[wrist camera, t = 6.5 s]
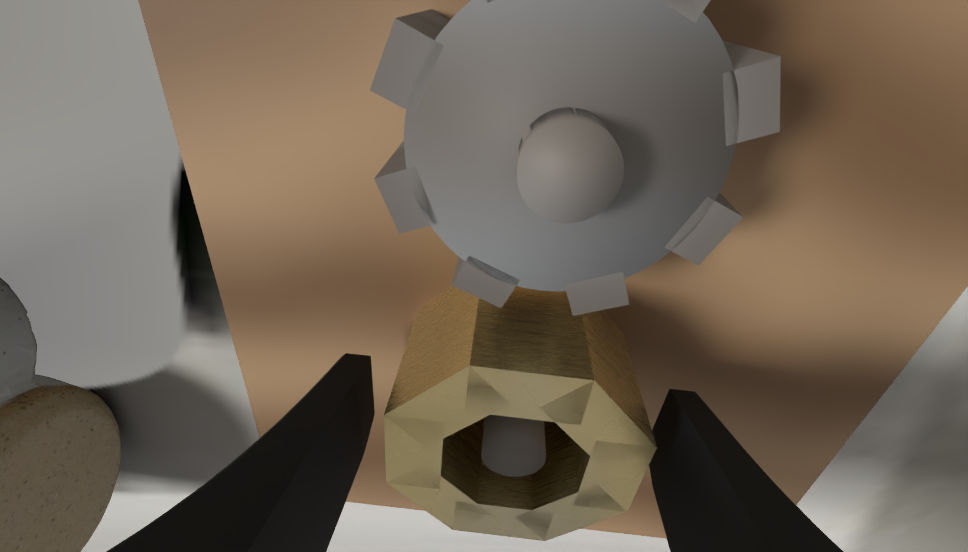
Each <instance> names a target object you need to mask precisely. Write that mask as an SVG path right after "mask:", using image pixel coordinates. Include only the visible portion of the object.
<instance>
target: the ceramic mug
mask: <svg viewBox="0 0 968 552" xmlns="http://www.w3.org/2000/svg"><path fill="white" fill-rule="evenodd" d="M36 351H37V344H36V339H35V337H34V334H33V332H32V329H31V324H30V321H29V318H28V317H27V310H26V309H25V307H24V305H23V304H22V302H21V301H20V300H19V298H18V297H17V295H16V294H15V293H14V292H13V290H12V289H11V288H10V286H9V285H8V284H7V283H6V282H5V281H4V280H2V279H1V278H0V552H81V550H82V549H83V547H84V546H85V545H86V543H87V542H88V541H89V539H90V537H91V536H92V534H93V532H94V531H95V529H96V528H97V526H98V524H99V523H100V521H101V519H102V517H103V515H104V513H105V510H106V508H107V506H108V504H109V501H110V499H111V496H112V493H113V490H114V487H115V483H116V480H117V477H118V473H119V467H120V461H121V442H120V434H119V427H118V425H117V422H116V420H115V417H114V415H113V413H112V411H111V410H110V408H109V407H108V406H107V405H106V403H105V402H104V401H103V400H102V399H101V398H100V397H99V396H98V395H96V394H94V393H92V392H90V391H88V390H86V389H83V388H80V387H77V386H74V385H71V384H68V383H65V382H62V381H59V380H56V379H53V378H50V377H45V376H41V375H35V364H36Z"/></svg>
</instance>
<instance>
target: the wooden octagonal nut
mask: <svg viewBox="0 0 968 552" xmlns="http://www.w3.org/2000/svg"><path fill="white" fill-rule="evenodd" d="M489 415H499V416H507V417H516V418H524V419H532V420H541V421H544V428H545V448H546V461H545V464H544V465H543V467H542V468H541V469H540V470H538V471H537V472H535V473H533V474H530V475H527V476H521V477H510V476H504V475H500V474H498V473H495V472H493V471H492V470H490V469H489V468H488V467H487V466H486V465H485V464H484V463H483V461H482V458H481V450H482V439H483V427H484V418H485V417H487V416H489ZM384 435H385V461H386V483H387V484H389V485H390V486H391V487H393V488H394V489H396V490H397V491H399V492H400V493H401V494H403V495H404V496H406V497H407V498H408V499H410V500H411V501H413V502H414V503H416V504H417V505H418V506H420V507H421V508H423V509H424V510H425V511H427V512H428V513H430V514H431V515H433V516H434V517H435V518H437V519H438V520H440V521H441V522H442V523H444V524H445V525H447V526H448V527H450V528H451V529H452V530H459V531H467V532H476V533H484V534H492V535H500V536H509V537H517V538H525V539H533V540H542V541H546V540H549V539H552V538H554V537H557V536H560V535H563V534H566V533H569V532H572V531H574V530H577V529H580V528H583V527H586V526H589V525H591V524H594V523H597V522H600V521H603V520H606V519H608V518H611V517H614V516H617V515H620V514H623V513H625V512H627V511H628V509H629V507H630V505H631V503H632V501H633V498H634V496H635V494H636V492H637V490H638V488H639V485H640V483H641V481H642V479H643V477H644V475H645V472H646V470H647V468H648V466H649V464H650V462H651V459H652V457H653V455H654V453H655V451H656V449H657V446H656V443H655V439H654V436H653V432H652V429H651V426H650V422H649V419H648V415H647V412H646V409H645V405H644V402H643V398H642V395H641V391H640V388H639V385H638V381H637V378H636V374H635V371H634V368H633V364H632V361H631V357H630V354H629V351H628V347H627V344H626V340H625V337H624V334H623V332H622V331H621V330H620V329H619V328H618V326H617V325H616V324H615V323H614V322H613V320H612V319H611V318H610V317H609V316H608V314H607V313H606V312H605V311H604V310H600V311H595V312H590V313H585V314H580V315H576V316H573V315H572V311H571V307H570V303H569V300H568V296H567V292H566V291H560V292H558V291H540V290H534V289H528V288H522V287H519V286H516V287H515V289H514V290H513V292H512V293H511V295H510V296H509V298H508V299H507V300H506V302H505V303H504V305H503V306H502V308H499V307H497V306H495V305H493V304H491V303H489V302H486V301H484V300H482V299H480V298H478V297H476V296H473V295H471V294H469V293H467V292H465V291H463V290H460V289H458V288H456V287H454V286H452V287H450V288H449V289H447V290H446V291H444V292H443V293H442V294H440V295H439V296H437V297H436V298H434V299H433V300H431V301H430V302H428V303H427V304H425V305H424V306H422V307H421V308H419V309H418V310H417V314H416V317H415V320H414V323H413V326H412V329H411V332H410V335H409V338H408V341H407V345H406V348H405V351H404V354H403V357H402V360H401V363H400V366H399V369H398V372H397V376H396V379H395V382H394V385H393V388H392V391H391V394H390V397H389V400H388V403H387V407H386V410H385V413H384Z"/></svg>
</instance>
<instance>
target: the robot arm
mask: <svg viewBox="0 0 968 552" xmlns="http://www.w3.org/2000/svg"><path fill="white" fill-rule="evenodd" d="M374 415H375V409H374V395H373V380H372V365H371V356H368V355H359V354H349V353H346V354H344V355H343V356H341V358H340V359H339V360H338V361H337V362H336V363H335V364H334V365H333V366H332V367H331V368H330V370H329V371H328V372H327V373H326V374H325V375H324V376H323V377H322V378H321V379H320V380H319V381H318V382H317V383H316V384H315V385H314V386H313V387H312V389H311V390H310V391H309V392H308V393H307V394H306V395H305V396H304V397H303V398H302V399H301V400H300V401H299V402H298V403H297V404H296V405H295V406H294V407H293V408H292V409H291V410H289V411H288V412H287V413H286V414H285V415H284V416H283V417H282V418H281V419H280V420H279V421H278V422H277V423H276V424H275V425H274V426H273V427H272V428H271V429H269V430H268V431H267V432H266V433H265V434H264V435H263V436H262V437H260V438H259V439H258V440H257V441H256V442H255V443H254V444H253V445H252V446H250V447H249V448H248V449H247V450H246V451H245V452H244V453H242V454H241V455H240V456H239V457H238V458H236V459H235V460H234V461H233V462H232V463H230V464H229V465H228V466H227V467H226V468H224V469H223V470H222V471H221V472H219V473H218V474H217V475H216V476H214V477H213V478H212V479H210V480H209V481H208V482H207V483H205V484H204V485H203V486H201V487H200V488H199V489H197V490H196V491H195V492H193V493H192V494H191V495H189V496H188V497H186V498H185V499H184V500H182V501H181V502H180V503H178V504H177V505H175V506H174V507H173V508H171V509H170V510H169V511H167V512H166V513H164V514H163V515H162V516H160V517H159V518H157V519H156V520H154V521H153V522H151V523H150V524H149V525H147V526H146V527H144V528H143V529H141V530H140V531H138V532H137V533H135V534H133V535H132V536H130V537H129V538H127V539H126V540H124V541H122V542H121V543H119V544H118V545H116V546H115V547H113V548H111V549H110V550H108V551H107V552H326V551H327V548H328V545H329V542H330V540H331V537H332V535H333V532H334V530H335V527H336V525H337V522H338V520H339V517H340V515H341V512H342V509H343V507H344V504H345V502H346V499H347V497H348V494H349V492H350V489H351V487H352V484H353V481H354V479H355V476H356V474H357V471H358V469H359V466H360V463H361V461H362V458H363V455H364V452H365V449H366V445H367V442H368V438H369V434H370V430H371V427H372V423H373V419H374ZM652 432H653V436H654V439H655V443H656V446H657V449H656V451H655V453H654V455H653V457H652V459H651V462H650V464H649V468H650V474H651V480H652V486H653V490H654V494H655V498H656V501H657V505H658V508H659V512H660V516H661V519H662V523H663V526H664V530H665V533H666V537H667V540H668V544H669V547H670V551H671V552H843V551H842V550H841V549H840V548H839V547H838V546H837V545H836V544H835V543H833V542H832V541H831V540H830V539H829V538H828V537H827V536H826V535H825V534H824V533H823V532H822V531H821V530H820V529H819V528H818V527H817V526H816V525H815V524H814V523H813V522H812V521H811V520H810V519H809V518H808V517H807V516H806V515H805V514H804V513H803V512H802V511H801V510H800V509H799V508H798V507H797V506H796V505H795V504H794V503H793V502H792V501H791V500H790V499H789V498H788V497H787V496H786V495H785V493H784V492H783V491H782V490H781V489H780V488H779V487H778V486H777V485H776V484H775V483H774V482H773V481H772V479H771V478H770V477H769V476H768V475H767V474H766V473H765V472H764V471H763V470H762V468H761V467H760V466H759V465H758V464H757V463H756V462H755V461H754V459H753V458H752V457H751V456H750V455H749V454H748V453H747V451H746V450H745V449H744V448H743V447H742V446H741V445H740V443H739V442H738V441H737V440H736V439H735V438H734V436H733V435H732V434H731V433H730V432H729V431H728V429H727V428H726V427H725V426H724V425H723V423H722V422H721V421H720V420H719V419H718V418H717V416H716V415H715V414H714V413H713V412H712V410H711V409H710V408H709V407H708V406H707V405H706V403H705V402H704V401H703V400H702V399H701V398H700V397H699V395H698V394H697V393H696V392H695V391H686V390H677V389H669V391H668V393H667V396H666V398H665V400H664V403H663V405H662V408H661V410H660V412H659V415H658V417H657V419H656V422H655V424H654V427H653V429H652Z"/></svg>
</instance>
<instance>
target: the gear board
mask: <svg viewBox="0 0 968 552" xmlns="http://www.w3.org/2000/svg"><path fill="white" fill-rule="evenodd" d="M138 1H139V4H140V8H141V11H142V15H143V19H144V22H145V26H146V29H147V33H148V36H149V40H150V44H151V47H152V51H153V55H154V58H155V62H156V65H157V69H158V72H159V76H160V80H161V83H162V87H163V91H164V94H165V98H166V101H167V105H168V109H169V112H170V116H171V119H172V123H173V127H174V130H175V134H176V137H177V141H178V145H179V148H180V152H181V155H182V159H183V163H184V166H185V170H186V173H187V177H188V181H189V184H190V188H191V191H192V195H193V199H194V202H195V206H196V209H197V213H198V217H199V220H200V224H201V227H202V231H203V235H204V238H205V242H206V245H207V249H208V253H209V256H210V260H211V263H212V267H213V271H214V274H215V278H216V281H217V285H218V289H219V292H220V296H221V299H222V303H223V306H224V310H225V314H226V317H227V321H228V324H229V328H230V332H231V335H232V339H233V342H234V346H235V350H236V353H237V357H238V360H239V364H240V368H241V371H242V375H243V378H244V382H245V386H246V389H247V393H248V396H249V400H250V404H251V407H252V411H253V414H254V418H255V422H256V425H257V429H258V432H259V436H260V437H262V436H263V435H264V434H265V433H266V432H267V431H268V430H269V429H271V428H272V427H273V426H274V425H275V424H276V423H277V422H278V421H279V420H280V419H281V418H282V417H283V416H284V415H285V414H286V413H287V412H288V411H289V410H291V409H292V408H293V407H294V406H295V405H296V404H297V403H298V402H299V401H300V400H301V399H302V398H303V397H304V396H305V395H306V394H307V393H308V392H309V391H310V390H311V389H312V387H313V386H314V385H315V384H316V383H317V382H318V381H319V380H320V379H321V378H322V377H323V376H324V375H325V374H326V373H327V372H328V371H329V370H330V368H331V367H332V366H333V365H334V364H335V363H336V362H337V361H338V360H339V359H340V358H341V356H343V355H344V354H346V353H349V354H359V355H368V356H371V365H372V380H373V395H374V409H375V415H374V419H373V423H372V427H371V430H370V434H369V438H368V442H367V445H366V449H365V452H364V455H363V458H362V461H361V463H360V466H359V469H358V471H357V474H356V476H355V479H354V481H353V484H352V487H351V489H350V492H349V494H348V497H347V499H346V502H355V503H363V504H372V505H381V506H390V507H398V508H407V509H416V510H424V509H423V508H421V507H420V506H418V505H417V504H416V503H414V502H413V501H411V500H410V499H408V498H407V497H406V496H404V495H403V494H401V493H400V492H399V491H397V490H396V489H394V488H393V487H391V486H390V485H389V484H387V483H386V461H385V435H384V413H385V410H386V407H387V403H388V400H389V397H390V394H391V391H392V388H393V385H394V382H395V379H396V376H397V372H398V369H399V366H400V363H401V360H402V357H403V354H404V351H405V348H406V345H407V341H408V338H409V335H410V332H411V329H412V326H413V323H414V320H415V317H416V314H417V310H418V309H419V308H421V307H422V306H424V305H425V304H427V303H428V302H430V301H431V300H433V299H434V298H436V297H437V296H439V295H440V294H442V293H443V292H444V291H446V290H447V289H449V288H450V287H452V286H454V287H456V288H458V289H460V290H463V291H465V292H467V293H469V294H471V295H473V296H476V297H478V298H480V299H482V300H484V301H486V302H489V303H491V304H493V305H495V306H497V307H499V308H502V306H503V305H504V303H505V302H506V300H507V299H508V298H509V296H510V295H511V293H512V292H513V290H514V289H515V287H516V286H519V287H522V288H528V289H534V290H540V291H558V292H560V291H566V292H567V296H568V300H569V303H570V307H571V311H572V315H573V316H576V315H580V314H585V313H590V312H595V311H600V310H604V311H605V312H606V313H607V314H608V316H609V317H610V318H611V319H612V320H613V322H614V323H615V324H616V325H617V326H618V328H619V329H620V330H621V331H622V332H623V334H624V337H625V340H626V344H627V347H628V351H629V354H630V357H631V361H632V364H633V368H634V371H635V374H636V378H637V381H638V385H639V388H640V391H641V395H642V398H643V402H644V405H645V409H646V412H647V415H648V419H649V422H650V426H651V429H653V427H654V424H655V422H656V419H657V417H658V415H659V412H660V410H661V408H662V405H663V403H664V400H665V398H666V396H667V393H668V391H669V389H677V390H686V391H695V392H696V393H697V394H698V395H699V397H700V398H701V399H702V400H703V401H704V402H705V403H706V405H707V406H708V407H709V408H710V409H711V410H712V412H713V413H714V414H715V415H716V416H717V418H718V419H719V420H720V421H721V422H722V423H723V425H724V426H725V427H726V428H727V429H728V431H729V432H730V433H731V434H732V435H733V436H734V438H735V439H736V440H737V441H738V442H739V443H740V445H741V446H742V447H743V448H744V449H745V450H746V451H747V453H748V454H749V455H750V456H751V457H752V458H753V459H754V461H755V462H756V463H757V464H758V465H759V466H760V467H761V468H762V470H763V471H764V472H765V473H766V474H767V475H768V476H769V477H770V478H771V479H772V481H773V482H774V483H775V484H776V485H777V486H778V487H779V488H780V489H781V490H782V491H783V492H784V493H785V495H786V496H787V497H788V498H789V499H790V500H791V501H792V502H793V503H794V504H795V505H797V503H798V502H799V501H800V499H801V498H802V497H803V496H804V494H805V493H806V492H807V491H808V489H809V488H810V487H811V485H812V484H813V483H814V482H815V480H816V479H817V478H818V476H819V475H820V474H821V473H822V471H823V470H824V469H825V468H826V466H827V465H828V464H829V462H830V461H831V460H832V459H833V457H834V456H835V455H836V453H837V452H838V451H839V450H840V448H841V447H842V446H843V445H844V443H845V442H846V441H847V439H848V438H849V437H850V436H851V434H852V433H853V432H854V431H855V429H856V428H857V427H858V425H859V424H860V423H861V422H862V420H863V419H864V418H865V416H866V415H867V414H868V413H869V411H870V410H871V409H872V408H873V406H874V405H875V404H876V402H877V401H878V400H879V399H880V397H881V396H882V395H883V393H884V392H885V391H886V390H887V388H888V387H889V386H890V385H891V383H892V382H893V381H894V379H895V378H896V377H897V376H898V374H899V373H900V372H901V371H902V369H903V368H904V367H905V365H906V364H907V363H908V362H909V360H910V359H911V358H912V356H913V355H914V354H915V353H916V351H917V350H918V349H919V348H920V346H921V345H922V344H923V342H924V341H925V340H926V339H927V337H928V336H929V335H930V333H931V332H932V331H933V330H934V328H935V327H936V326H937V325H938V323H939V322H940V321H941V319H942V318H943V317H944V316H945V314H946V313H947V312H948V310H949V309H950V308H951V307H952V305H953V304H954V303H955V302H956V300H957V299H958V298H959V296H960V295H961V294H962V293H963V291H964V290H965V289H966V288H967V286H968V0H138ZM481 458H482V461H483V463H484V464H485V465H486V466H487V467H488V468H489V469H490V470H492V471H493V472H495V473H498V474H500V475H504V476H510V477H521V476H527V475H530V474H533V473H535V472H537V471H538V470H540V469H541V468H542V467H543V465H544V464H545V461H546V448H545V428H544V421H541V420H532V419H524V418H516V417H507V416H499V415H489V416H487V417H485V418H484V427H483V439H482V450H481ZM424 511H425V510H424ZM581 529H590V530H598V531H607V532H616V533H624V534H633V535H642V536H651V537H659V538H667V537H666V533H665V530H664V526H663V523H662V519H661V516H660V512H659V508H658V505H657V501H656V498H655V494H654V490H653V486H652V480H651V474H650V468H649V466H648V468H647V470H646V472H645V475H644V477H643V479H642V481H641V483H640V485H639V488H638V490H637V492H636V494H635V496H634V498H633V501H632V503H631V505H630V507H629V509H628V511H627V512H625V513H623V514H620V515H617V516H614V517H611V518H608V519H606V520H603V521H600V522H597V523H594V524H591V525H589V526H586V527H583V528H581Z"/></svg>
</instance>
